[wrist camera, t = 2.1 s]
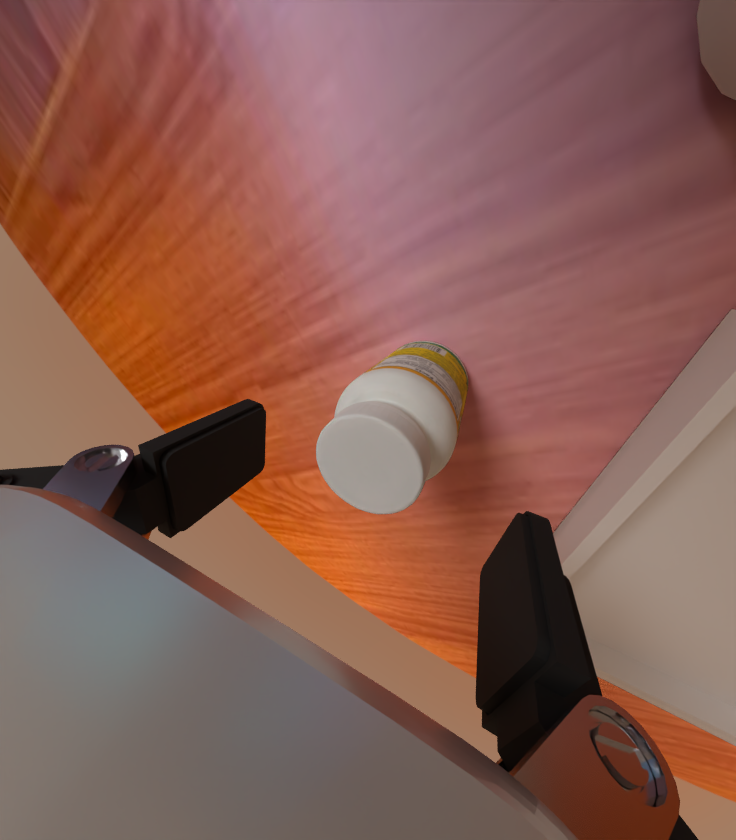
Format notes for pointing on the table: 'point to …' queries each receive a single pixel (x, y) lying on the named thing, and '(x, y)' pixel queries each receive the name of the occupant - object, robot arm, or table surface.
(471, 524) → the table surface
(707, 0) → the can
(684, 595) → the tray
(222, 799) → the robot arm
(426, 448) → the supplement bottle
